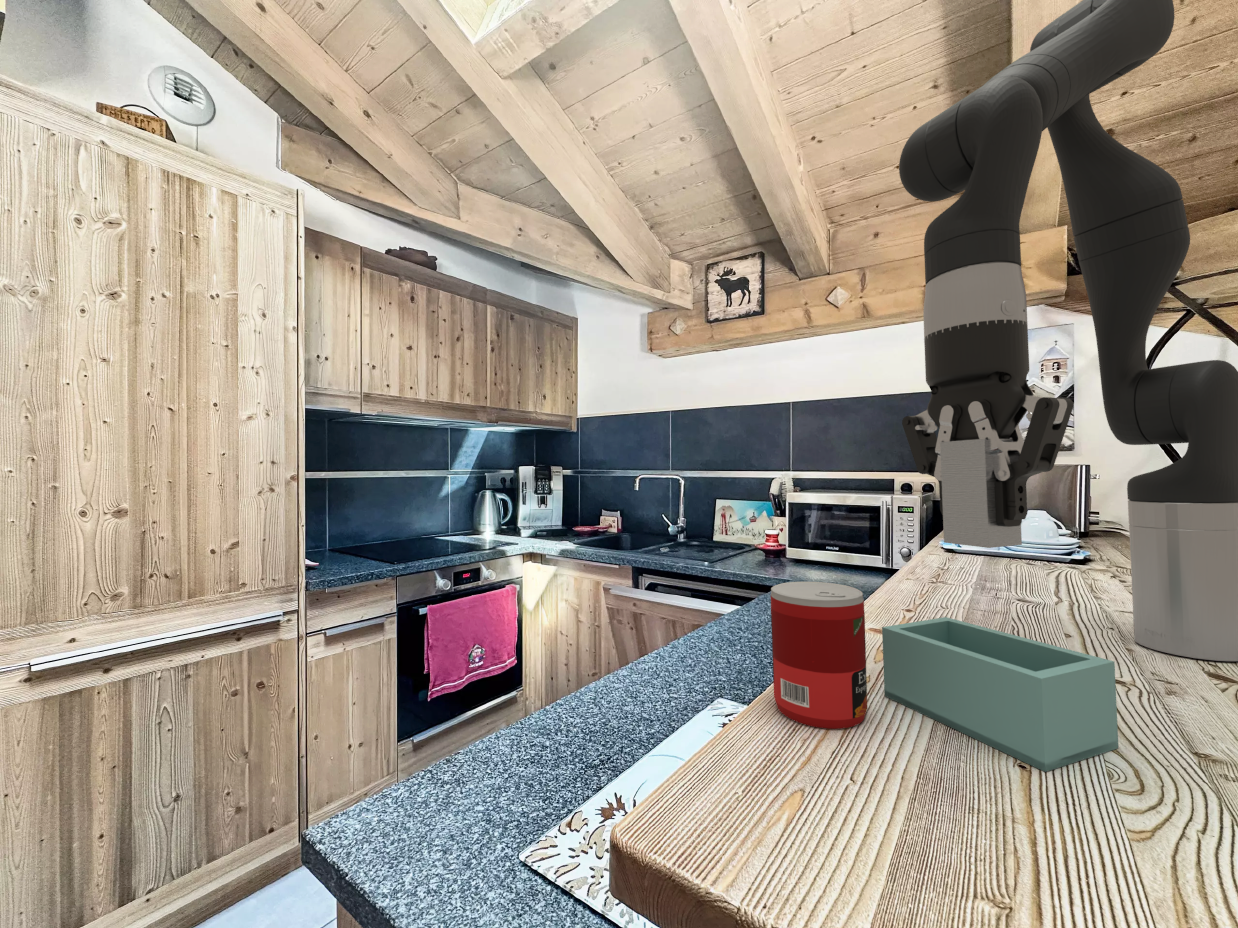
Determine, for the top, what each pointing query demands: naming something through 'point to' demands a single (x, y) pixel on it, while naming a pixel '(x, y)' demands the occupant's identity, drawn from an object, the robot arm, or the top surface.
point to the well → (1004, 689)
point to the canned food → (819, 653)
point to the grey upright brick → (972, 496)
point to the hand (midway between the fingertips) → (981, 522)
